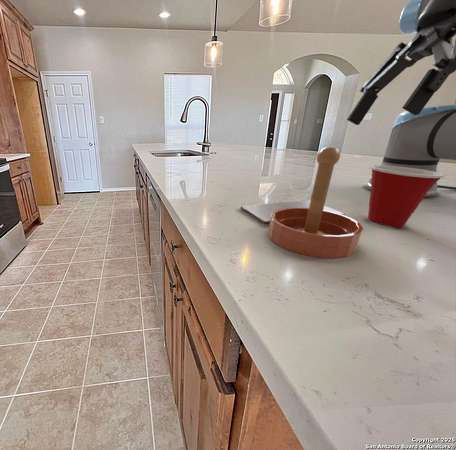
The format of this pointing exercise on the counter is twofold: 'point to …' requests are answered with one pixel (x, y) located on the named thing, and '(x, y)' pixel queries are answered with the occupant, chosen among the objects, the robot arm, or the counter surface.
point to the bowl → (315, 243)
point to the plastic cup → (398, 193)
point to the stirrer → (320, 188)
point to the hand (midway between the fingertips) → (377, 117)
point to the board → (266, 210)
